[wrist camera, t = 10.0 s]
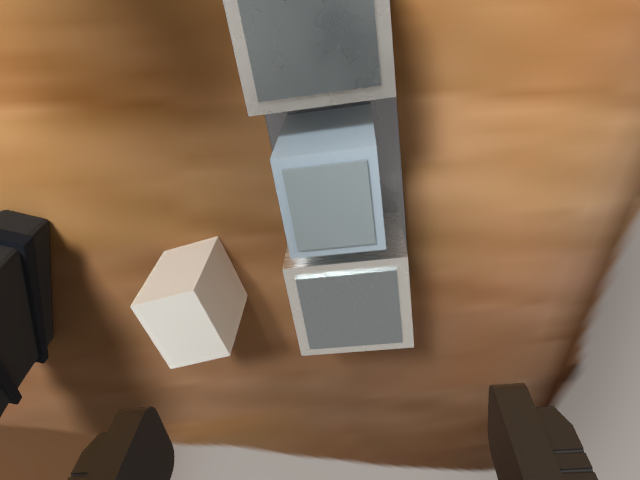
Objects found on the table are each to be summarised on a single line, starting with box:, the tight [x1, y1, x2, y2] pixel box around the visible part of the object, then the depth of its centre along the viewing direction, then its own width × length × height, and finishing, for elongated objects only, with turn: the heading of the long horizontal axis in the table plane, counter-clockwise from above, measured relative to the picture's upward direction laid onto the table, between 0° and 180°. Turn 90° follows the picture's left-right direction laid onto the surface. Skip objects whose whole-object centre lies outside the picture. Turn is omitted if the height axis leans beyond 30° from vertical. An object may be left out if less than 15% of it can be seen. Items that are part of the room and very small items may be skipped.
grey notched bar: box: [223, 0, 414, 356], centre depth 26 cm, size 20×7×7 cm, turn 8°
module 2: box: [270, 104, 386, 259], centre depth 25 cm, size 5×4×7 cm
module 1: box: [130, 236, 248, 369], centre depth 31 cm, size 5×4×6 cm
